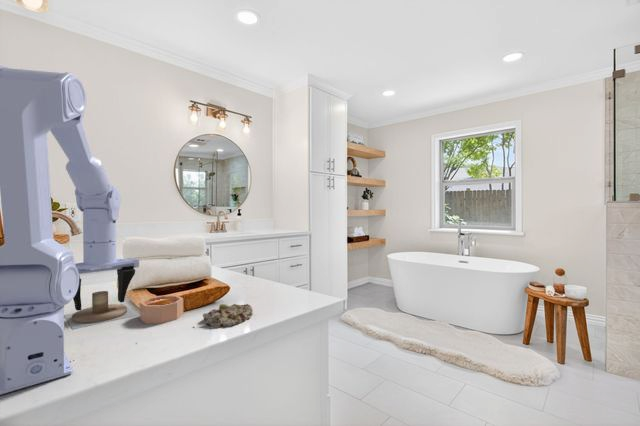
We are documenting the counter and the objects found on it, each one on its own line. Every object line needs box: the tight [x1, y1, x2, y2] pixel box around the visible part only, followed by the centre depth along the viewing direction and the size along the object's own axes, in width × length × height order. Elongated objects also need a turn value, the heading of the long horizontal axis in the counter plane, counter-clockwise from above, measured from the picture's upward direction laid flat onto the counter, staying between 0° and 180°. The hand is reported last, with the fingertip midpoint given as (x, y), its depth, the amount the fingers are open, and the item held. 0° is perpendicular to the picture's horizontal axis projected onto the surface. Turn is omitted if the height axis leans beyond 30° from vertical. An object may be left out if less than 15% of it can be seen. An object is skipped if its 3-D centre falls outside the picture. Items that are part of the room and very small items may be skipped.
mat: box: [64, 303, 138, 330], centre depth 68 cm, size 11×11×1 cm
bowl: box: [139, 295, 184, 324], centre depth 67 cm, size 8×8×4 cm
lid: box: [72, 290, 128, 323], centre depth 68 cm, size 10×10×5 cm
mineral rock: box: [202, 303, 254, 328], centre depth 67 cm, size 11×4×8 cm
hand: (100, 305), depth 68 cm, fingers open, 7 cm apart
